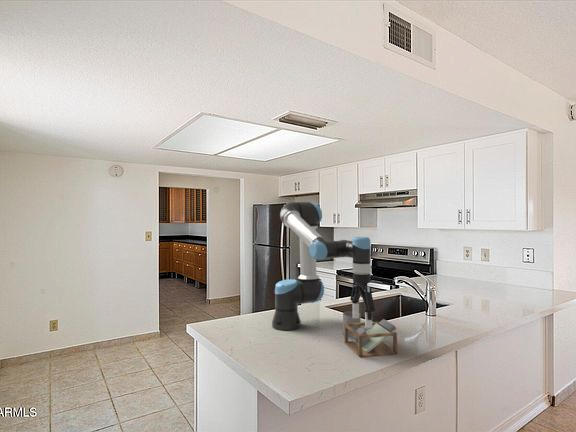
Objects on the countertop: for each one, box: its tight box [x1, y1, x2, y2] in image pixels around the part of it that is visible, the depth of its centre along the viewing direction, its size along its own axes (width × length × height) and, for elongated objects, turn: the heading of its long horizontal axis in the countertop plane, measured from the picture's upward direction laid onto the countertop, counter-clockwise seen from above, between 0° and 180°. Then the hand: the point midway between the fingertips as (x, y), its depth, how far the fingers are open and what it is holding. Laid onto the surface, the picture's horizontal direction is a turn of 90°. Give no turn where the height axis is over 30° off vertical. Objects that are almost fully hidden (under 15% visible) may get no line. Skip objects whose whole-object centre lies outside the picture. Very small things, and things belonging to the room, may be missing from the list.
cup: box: [342, 311, 362, 339], centre depth 169 cm, size 8×8×10 cm
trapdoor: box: [353, 318, 397, 353], centre depth 152 cm, size 16×13×2 cm
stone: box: [352, 326, 371, 347], centre depth 151 cm, size 5×5×5 cm
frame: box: [344, 321, 398, 358], centre depth 152 cm, size 17×17×8 cm
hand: (362, 322), depth 151 cm, fingers open, 13 cm apart
